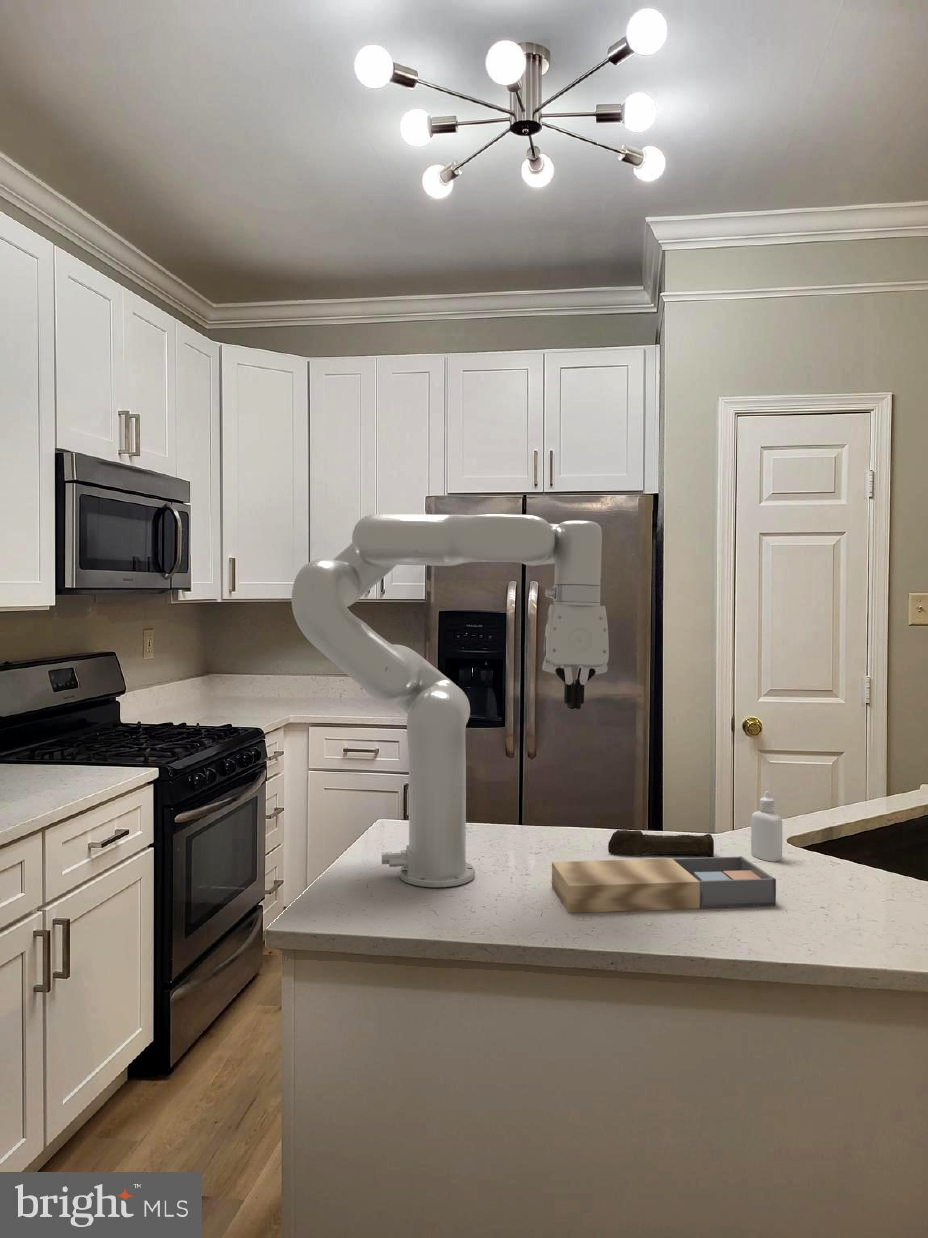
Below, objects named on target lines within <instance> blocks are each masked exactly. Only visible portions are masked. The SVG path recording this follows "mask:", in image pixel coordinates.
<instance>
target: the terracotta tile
mask: <svg viewBox="0 0 928 1238" xmlns="http://www.w3.org/2000/svg"><path fill="white" fill-rule="evenodd" d="M723 874H725V875H726V876H727V877H728V878H729V879H731V880H737V879H761V878H760V877H759V876H757V875H756V874H754V873H753V872H752V871H750V870H745V871H723Z"/></svg>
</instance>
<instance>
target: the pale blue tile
mask: <svg viewBox="0 0 928 1238" xmlns="http://www.w3.org/2000/svg"><path fill="white" fill-rule="evenodd" d="M694 877H695V878H696V879H697V880H698V881H706V880H731V879H729V878H728V877H727V876H726V875H725V874H723V873H722V872H694Z"/></svg>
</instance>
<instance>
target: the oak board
mask: <svg viewBox="0 0 928 1238" xmlns="http://www.w3.org/2000/svg"><path fill="white" fill-rule="evenodd" d="M551 888H552V889H553V891H554V892H555V894H556V895H557V896H558V899H559V900H560V902H561V903H562V905H563V906H564V908H565V909H566V911H567V912H568V913H570V914H575V913H580V914H581V913H602V912H603V913H605V912H606V913H607V912H608V913H609V912H629V911H630V912H631V911H637V912H638V911H657V910H658V911H659V910H661V911H662V910H688V909H690V910H691V909H701V908H700V882H699V881H698V880H697V879H696V878H695V877H693V876H692V875H691V874H690V873H689V872H687V871H686V870H685V869H684V868H683V867H681V866H680V865H679V864H678V863H677V862H675V861H674V860H673V858H648V859H647V858H644V859H642V858H641V859H612V860H611V859H609V860H584V861H583V860H579V861H578V860H575V861H572V860H571V861H551Z"/></svg>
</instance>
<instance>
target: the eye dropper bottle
mask: <svg viewBox="0 0 928 1238" xmlns="http://www.w3.org/2000/svg"><path fill="white" fill-rule="evenodd" d="M774 811H775V799H773V798H772V797H771V795H770V791H764V794H763V797H760V798H759V810H758V811H754V812H753V813H752V814H751V822H750V824H751V825H750V828H751V829H750V830H751V833H750V842H751V843H750V855H751V856H753V857H754V858H756V859H758V860H759V859H760V860H762V861H767V862H771V863H774V862H775V863H776V862H779V861H782V860H783V819H782V818H781V816H779V815H778V814H777V813H776V812H774Z"/></svg>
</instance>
